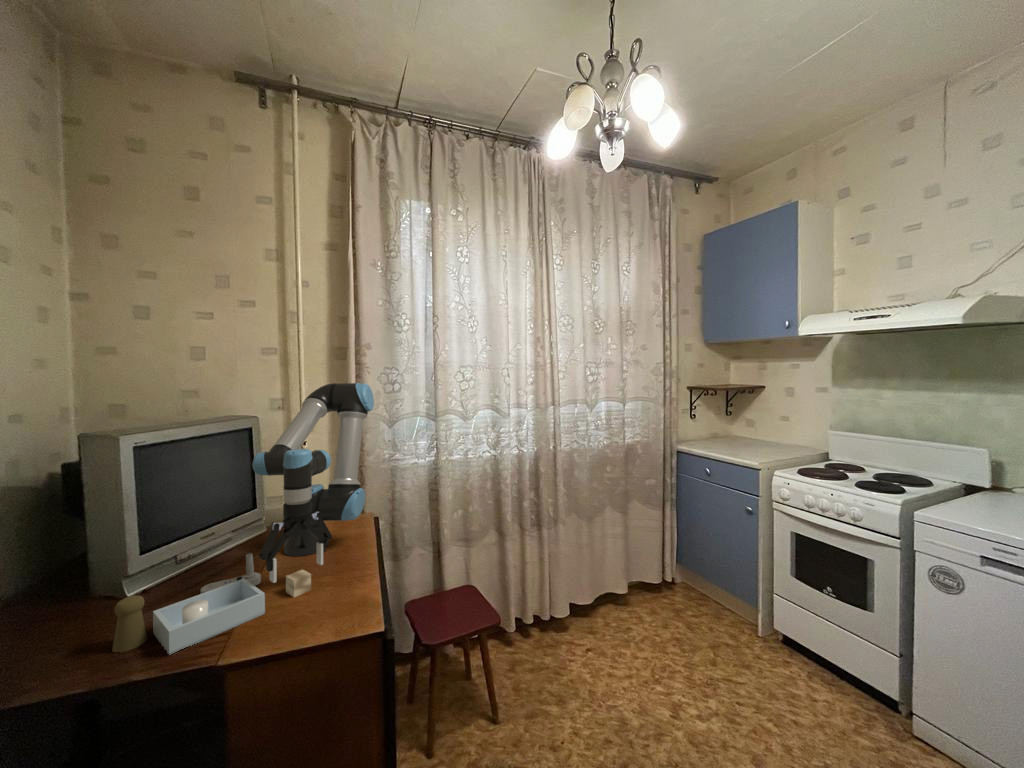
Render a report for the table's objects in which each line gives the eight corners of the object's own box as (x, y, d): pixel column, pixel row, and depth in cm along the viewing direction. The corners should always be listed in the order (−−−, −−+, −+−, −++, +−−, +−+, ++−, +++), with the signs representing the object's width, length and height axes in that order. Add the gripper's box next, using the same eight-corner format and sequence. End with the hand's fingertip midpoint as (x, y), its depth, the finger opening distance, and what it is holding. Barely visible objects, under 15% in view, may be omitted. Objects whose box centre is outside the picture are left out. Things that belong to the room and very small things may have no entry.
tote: (244, 597, 114) (244, 578, 114) (264, 613, 105) (264, 593, 105) (153, 633, 97) (153, 611, 97) (169, 656, 89) (169, 631, 89)
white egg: (204, 624, 100) (204, 597, 100) (211, 632, 97) (211, 604, 97) (179, 635, 96) (179, 606, 96) (185, 643, 93) (185, 613, 93)
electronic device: (201, 561, 117) (260, 549, 124) (202, 593, 117) (261, 579, 125) (197, 568, 112) (258, 555, 120) (199, 602, 113) (260, 586, 120)
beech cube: (302, 585, 121) (302, 569, 121) (311, 590, 118) (311, 573, 118) (285, 592, 116) (285, 575, 116) (294, 597, 114) (294, 580, 114)
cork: (127, 636, 96) (127, 592, 96) (154, 635, 97) (153, 591, 97) (104, 653, 90) (104, 606, 90) (132, 651, 91) (131, 605, 91)
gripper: (330, 490, 129) (330, 554, 129) (245, 509, 109) (245, 585, 109) (343, 494, 125) (343, 560, 124) (256, 514, 105) (256, 593, 104)
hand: (297, 572), depth 117 cm, fingers open, 13 cm apart
